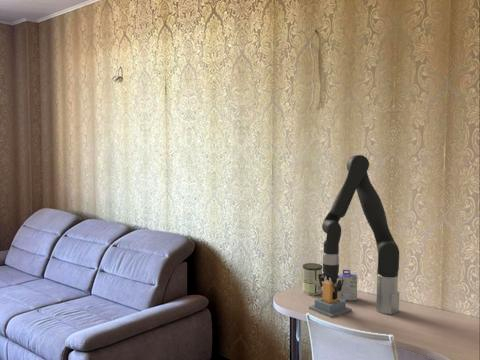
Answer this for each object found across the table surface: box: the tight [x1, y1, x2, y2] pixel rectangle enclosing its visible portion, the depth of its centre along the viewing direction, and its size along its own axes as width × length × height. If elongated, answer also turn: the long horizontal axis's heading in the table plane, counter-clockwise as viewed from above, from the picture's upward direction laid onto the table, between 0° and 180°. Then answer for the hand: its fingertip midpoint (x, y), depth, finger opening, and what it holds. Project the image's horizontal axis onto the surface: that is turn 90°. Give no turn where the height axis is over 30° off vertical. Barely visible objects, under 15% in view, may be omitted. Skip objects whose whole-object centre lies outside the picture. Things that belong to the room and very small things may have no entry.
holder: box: [308, 297, 352, 318], centre depth 216 cm, size 14×14×4 cm
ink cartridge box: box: [338, 269, 358, 301], centre depth 231 cm, size 10×6×14 cm, turn 89°
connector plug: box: [321, 280, 338, 304], centre depth 216 cm, size 4×6×12 cm
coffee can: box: [302, 262, 323, 296], centre depth 241 cm, size 10×10×14 cm
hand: (330, 297), depth 216 cm, fingers closed on connector plug, 4 cm apart
